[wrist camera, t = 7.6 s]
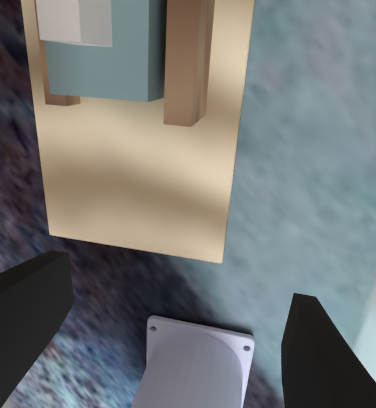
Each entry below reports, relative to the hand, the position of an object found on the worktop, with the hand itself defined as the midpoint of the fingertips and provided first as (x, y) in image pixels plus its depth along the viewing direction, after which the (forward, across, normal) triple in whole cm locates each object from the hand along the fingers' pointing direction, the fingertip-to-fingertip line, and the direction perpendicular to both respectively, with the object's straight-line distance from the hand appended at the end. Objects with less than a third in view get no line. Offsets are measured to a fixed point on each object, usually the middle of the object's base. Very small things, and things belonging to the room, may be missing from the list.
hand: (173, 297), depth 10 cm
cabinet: (+10, +5, -9) cm, 14 cm away
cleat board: (+10, +5, -5) cm, 13 cm away
